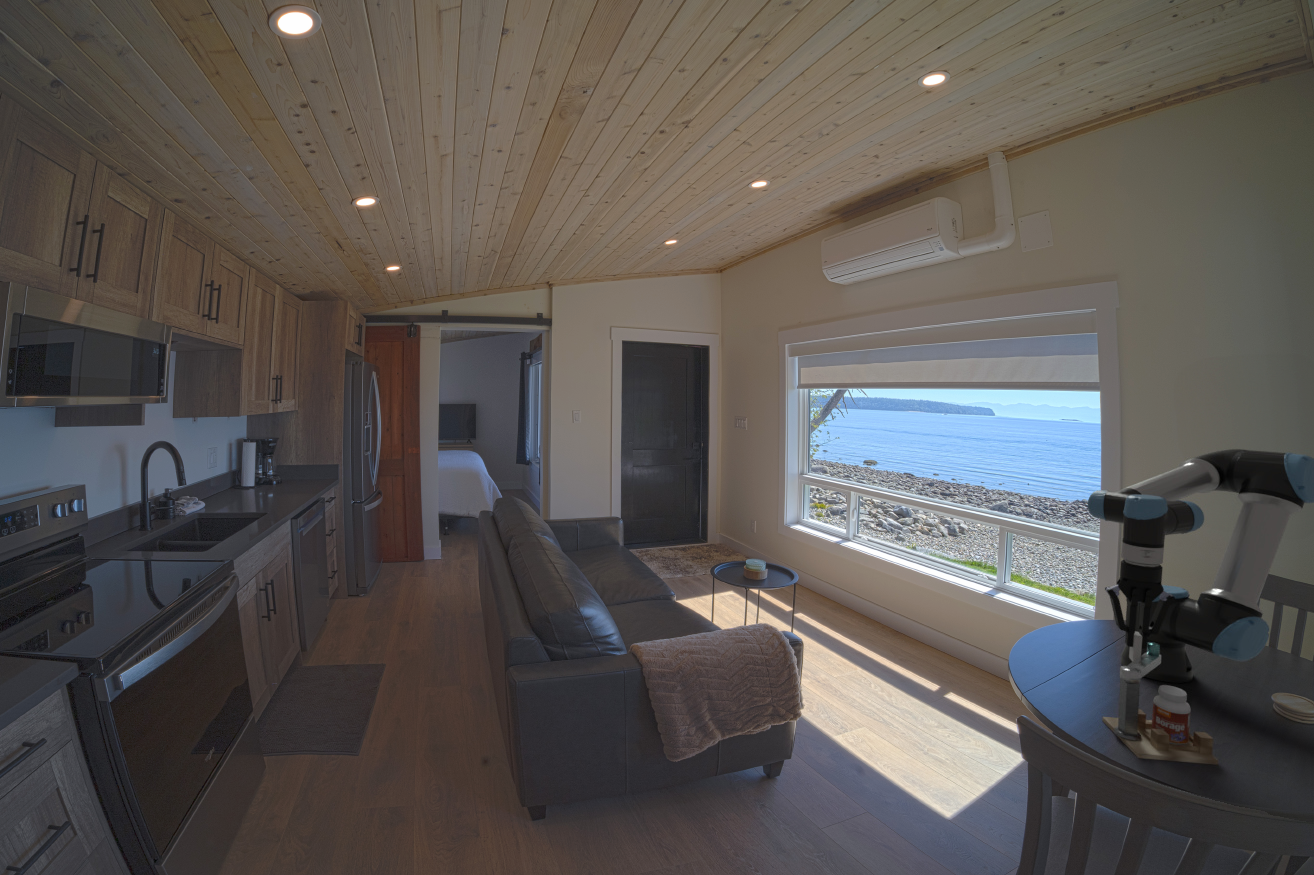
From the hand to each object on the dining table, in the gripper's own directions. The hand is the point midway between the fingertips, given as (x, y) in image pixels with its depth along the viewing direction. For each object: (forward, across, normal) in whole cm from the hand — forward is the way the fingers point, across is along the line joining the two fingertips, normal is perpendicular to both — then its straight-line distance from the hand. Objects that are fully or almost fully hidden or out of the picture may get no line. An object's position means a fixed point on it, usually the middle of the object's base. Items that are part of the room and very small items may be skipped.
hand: (1134, 660), depth 139 cm
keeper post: (+14, -4, -11) cm, 18 cm away
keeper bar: (0, -1, -6) cm, 6 cm away
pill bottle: (+13, +4, -9) cm, 17 cm away
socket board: (+14, +2, -10) cm, 17 cm away
